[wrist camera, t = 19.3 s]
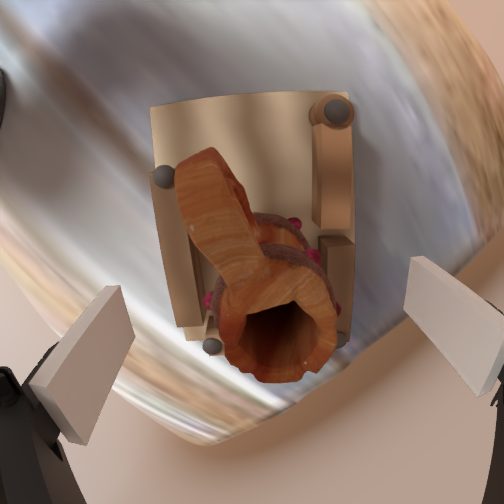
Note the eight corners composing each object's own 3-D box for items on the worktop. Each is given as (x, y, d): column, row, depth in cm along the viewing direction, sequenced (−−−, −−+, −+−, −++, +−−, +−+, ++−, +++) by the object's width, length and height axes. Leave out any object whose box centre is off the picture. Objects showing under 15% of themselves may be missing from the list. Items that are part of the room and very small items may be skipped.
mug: (320, 275, 29) (378, 377, 15) (245, 308, 30) (246, 427, 15) (257, 134, 24) (274, 106, 10) (175, 175, 25) (96, 201, 11)
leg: (308, 100, 23) (318, 91, 20) (340, 102, 23) (355, 95, 20) (309, 220, 27) (318, 230, 23) (339, 219, 27) (354, 230, 23)
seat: (188, 333, 32) (180, 362, 27) (154, 109, 25) (135, 100, 20) (346, 318, 32) (361, 345, 27) (342, 94, 25) (362, 83, 20)
